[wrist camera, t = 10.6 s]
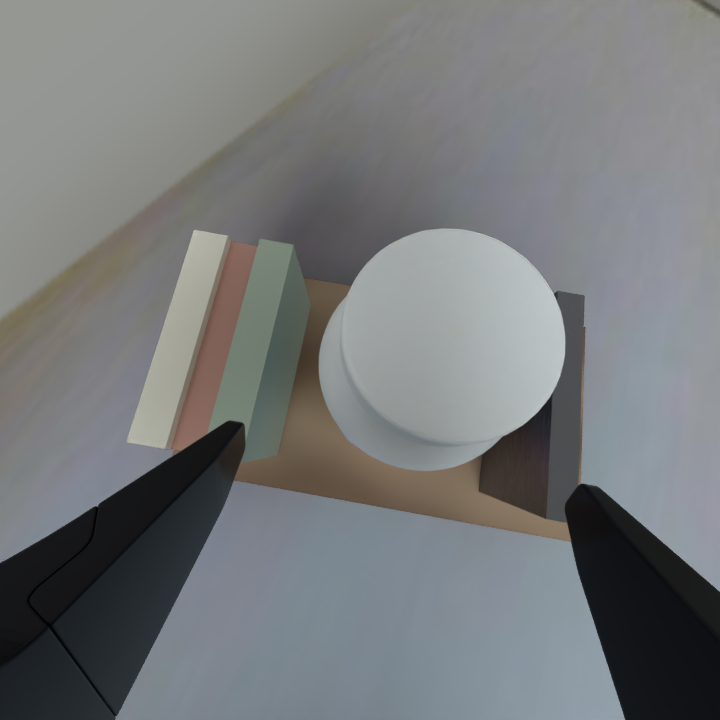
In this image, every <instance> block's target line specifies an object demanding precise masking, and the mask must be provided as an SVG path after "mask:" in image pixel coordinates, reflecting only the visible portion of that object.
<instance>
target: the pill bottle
mask: <svg viewBox="0 0 720 720" xmlns="http://www.w3.org/2000/svg"><path fill="white" fill-rule="evenodd" d="M564 357H565V331H564V324H563V318H562V315H561V311H560V308H559V305H558V303H557V300H556V298H555V296H554V294H553V292H552V290H551V289H550V287H549V285H548V284H547V282H546V280H545V279H544V278H543V276H542V275H541V274H540V273H539V271H538V270H537V269H536V268H535V267H534V266H533V265H532V264H531V263H530V262H529V261H528V260H527V259H526V258H525V257H523V256H522V255H521V254H519V253H518V252H517V251H515V250H514V249H513V248H511V247H509V246H508V245H506V244H505V243H503V242H501V241H499V240H497V239H495V238H492V237H490V236H487V235H484V234H481V233H477V232H473V231H468V230H463V229H448V228H441V229H432V230H424V231H420V232H417V233H414V234H411V235H408V236H405V237H403V238H401V239H399V240H397V241H395V242H393V243H391V244H389V245H388V246H386V247H385V248H383V249H382V250H381V251H379V252H378V253H377V254H376V255H375V256H374V257H373V258H372V259H371V260H370V261H369V262H368V263H367V264H366V265H365V266H364V267H363V269H362V270H361V271H360V272H359V274H358V276H357V277H356V279H355V280H354V282H353V284H352V286H351V288H350V290H349V292H348V294H347V296H346V297H345V298H344V299H343V301H342V302H341V303H340V304H339V305H338V307H337V308H336V310H335V311H334V313H333V314H332V316H331V318H330V320H329V322H328V325H327V327H326V330H325V332H324V335H323V338H322V342H321V346H320V352H319V379H320V385H321V390H322V394H323V397H324V400H325V403H326V405H327V408H328V410H329V412H330V414H331V416H332V418H333V419H334V421H335V423H336V424H337V425H338V427H339V428H340V430H341V432H342V433H343V434H344V436H345V437H346V438H347V439H348V440H349V441H350V442H351V443H352V444H353V445H354V446H355V447H357V448H358V449H359V450H361V451H363V452H364V453H366V454H367V455H369V456H371V457H372V458H374V459H376V460H379V461H381V462H383V463H386V464H389V465H392V466H395V467H399V468H403V469H408V470H416V471H435V470H443V469H448V468H452V467H456V466H459V465H462V464H464V463H466V462H469V461H471V460H473V459H475V458H476V457H478V456H480V455H481V454H483V453H484V452H486V451H487V450H488V449H490V448H491V447H492V446H493V445H494V444H496V443H497V442H498V441H499V440H500V439H501V437H502V436H505V435H507V434H509V433H511V432H512V431H514V430H516V429H518V428H519V427H521V426H522V425H524V424H525V423H526V422H528V421H529V420H530V419H531V418H532V417H533V416H534V415H535V414H537V413H538V412H539V410H540V409H541V408H542V407H543V405H544V404H545V403H546V402H547V400H548V399H549V398H550V396H551V394H552V392H553V391H554V389H555V387H556V385H557V382H558V380H559V378H560V375H561V371H562V367H563V363H564Z"/></svg>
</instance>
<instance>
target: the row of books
mask: <svg viewBox="0 0 720 720" xmlns="http://www.w3.org/2000/svg"><path fill="white" fill-rule="evenodd" d="M310 307H311V303H310V300H309V296H308V293H307V289H306V286H305V282H304V279H303V275H302V272H301V268H300V265H299V261H298V258H297V254H296V251H295V247H294V245H293V244H287V243H282V242H276V241H270V240H265V239H260V240H259V243H258V246H254V245H248V244H242V243H237V242H231V241H230V239H229V237H228V236H226V235H221V234H215V233H209V232H204V231H198V230H194V232H193V235H192V238H191V241H190V245H189V248H188V251H187V254H186V257H185V260H184V263H183V266H182V270H181V273H180V276H179V279H178V282H177V285H176V288H175V291H174V295H173V298H172V301H171V304H170V307H169V310H168V313H167V316H166V320H165V323H164V326H163V329H162V332H161V335H160V338H159V341H158V345H157V348H156V351H155V354H154V357H153V360H152V363H151V366H150V370H149V373H148V376H147V379H146V382H145V385H144V388H143V391H142V395H141V398H140V401H139V404H138V407H137V410H136V413H135V416H134V420H133V423H132V426H131V429H130V432H129V435H128V438H127V441H126V442H129V443H135V444H140V445H146V446H151V447H157V448H162V449H176V450H183V449H184V448H186V447H188V446H189V445H191V444H192V443H194V442H195V441H197V440H198V439H200V438H201V437H203V436H205V435H206V434H208V433H209V432H211V431H212V430H214V429H215V428H217V427H218V426H220V425H222V424H223V423H225V422H226V421H229V420H233V421H238V422H242V423H244V425H245V441H246V446H245V451H244V454H243V457H242V460H241V462H240V463H245V462H249V461H254V460H258V459H263V458H267V457H271V456H276V455H278V451H279V447H280V442H281V438H282V433H283V429H284V424H285V420H286V415H287V411H288V406H289V402H290V397H291V393H292V388H293V384H294V379H295V375H296V370H297V366H298V361H299V357H300V352H301V348H302V343H303V339H304V334H305V330H306V325H307V321H308V316H309V312H310Z"/></svg>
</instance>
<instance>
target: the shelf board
mask: <svg viewBox="0 0 720 720" xmlns="http://www.w3.org/2000/svg"><path fill="white" fill-rule="evenodd" d="M303 279H304V282H305V286H306V289H307V293H308V296H309V300H310V303H311V307H310V312H309V316H308V321H307V325H306V330H305V334H304V339H303V343H302V348H301V352H300V357H299V361H298V366H297V370H296V375H295V379H294V384H293V388H292V393H291V397H290V402H289V406H288V411H287V415H286V420H285V424H284V429H283V433H282V438H281V442H280V447H279V451H278V455H276V456H271V457H267V458H263V459H258V460H254V461H249V462H245V463H240V465H239V468H238V470H237V473H236V475H235V478H234V480H236V481H242V482H247V483H252V484H258V485H263V486H269V487H274V488H280V489H285V490H291V491H296V492H302V493H307V494H313V495H318V496H324V497H329V498H335V499H340V500H345V501H351V502H356V503H362V504H367V505H373V506H378V507H384V508H389V509H395V510H400V511H406V512H411V513H417V514H422V515H428V516H433V517H439V518H444V519H449V520H455V521H460V522H466V523H471V524H477V525H482V526H488V527H493V528H499V529H504V530H510V531H515V532H521V533H526V534H532V535H537V536H543V537H548V538H553V539H559V540H564V541H570V542H571V539H570V534H569V529H568V525H567V523H564V522H559V521H553V520H548V519H544V518H542V517H540V516H537V515H535V514H532V513H530V512H527V511H525V510H522V509H520V508H517V507H515V506H513V505H510V504H508V503H505V502H503V501H500V500H498V499H495V498H493V497H491V496H488V495H486V494H483V493H481V492H478V491H479V481H480V470H481V459H482V454H481V455H480V456H478V457H476V458H475V459H473V460H471V461H469V462H466V463H464V464H462V465H459V466H456V467H452V468H448V469H443V470H435V471H416V470H408V469H403V468H399V467H395V466H392V465H389V464H386V463H383V462H381V461H379V460H376V459H374V458H372V457H371V456H369V455H367V454H366V453H364V452H363V451H361V450H359V449H358V448H357V447H355V446H354V445H353V444H352V443H351V442H350V441H349V440H348V439H347V438H346V437H345V436H344V434H343V433H342V432H341V430H340V428H339V427H338V425H337V424H336V423H335V421H334V419H333V418H332V416H331V414H330V412H329V410H328V408H327V405H326V403H325V400H324V397H323V394H322V390H321V385H320V379H319V352H320V346H321V342H322V338H323V335H324V332H325V330H326V327H327V325H328V322H329V320H330V318H331V316H332V314H333V313H334V311H335V310H336V308H337V307H338V305H339V304H340V303H341V302H342V301H343V299H344V298H345V297H346V296H347V294H348V292H349V290H350V288H351V286H349V285H343V284H338V283H332V282H326V281H321V280H315V279H309V278H304V277H303ZM584 354H585V327H583V357H582V389H581V420H580V451H579V483H578V485H580V484H581V452H582V420H583V387H584ZM180 451H181V450H176V449H175V450H174V453H173V456H174V455H175V454H177V453H178V452H180Z"/></svg>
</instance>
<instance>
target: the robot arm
mask: <svg viewBox="0 0 720 720" xmlns="http://www.w3.org/2000/svg"><path fill="white" fill-rule="evenodd" d="M245 446H246V441H245V425H244V423H242V422H238V421H233V420H229V421H226V422H225V423H223V424H222V425H220V426H218V427H217V428H215V429H214V430H212V431H211V432H209V433H208V434H206V435H205V436H203V437H201V438H200V439H198V440H197V441H195V442H194V443H192V444H191V445H189V446H188V447H186V448H184V449H183V450H181V451H180V452H178V453H177V454H175V455H174V456H172V457H171V458H169V459H167V460H166V461H164V462H163V463H161V464H160V465H158V466H157V467H155V468H154V469H152V470H150V471H149V472H147V473H146V474H144V475H143V476H141V477H140V478H138V479H137V480H135V481H133V482H132V483H130V484H129V485H127V486H126V487H124V488H123V489H121V490H120V491H118V492H116V493H115V494H113V495H112V496H110V497H109V498H107V499H106V500H104V501H103V502H101V503H100V504H99V505H98V507H97V506H95V507H93V508H91V509H90V510H88V511H87V512H85V513H84V514H82V515H81V516H79V517H78V518H76V519H74V520H73V521H71V522H70V523H68V524H66V525H65V526H63V527H62V528H60V529H58V530H57V531H55V532H53V533H52V534H50V535H49V536H47V537H45V538H43V539H42V540H40V541H38V542H37V543H35V544H33V545H31V546H30V547H28V548H26V549H24V550H23V551H21V552H19V553H17V554H16V555H14V556H12V557H10V558H9V559H7V560H5V561H3V562H1V563H0V720H115V719H116V718H115V716H117V715H118V713H119V711H120V709H121V707H122V705H123V703H124V701H125V699H126V697H127V695H128V693H129V691H130V689H131V688H132V686H133V684H134V682H135V680H136V678H137V676H138V674H139V672H140V670H141V668H142V666H143V664H144V662H145V660H146V658H147V656H148V654H149V652H150V650H151V648H152V646H153V644H154V642H155V640H156V638H157V637H158V635H159V633H160V631H161V629H162V627H163V625H164V623H165V621H166V619H167V617H168V615H169V613H170V611H171V609H172V607H173V605H174V603H175V601H176V599H177V597H178V595H179V593H180V591H181V589H182V587H183V586H184V584H185V582H186V580H187V578H188V576H189V574H190V572H191V570H192V568H193V566H194V564H195V562H196V560H197V558H198V556H199V554H200V552H201V550H202V548H203V546H204V544H205V542H206V540H207V538H208V536H209V535H210V533H211V531H212V529H213V527H214V525H215V523H216V521H217V519H218V517H219V515H220V513H221V511H222V509H223V507H224V504H225V502H226V499H227V497H228V494H229V491H230V489H231V486H232V483H233V481H234V478H235V475H236V473H237V470H238V468H239V465H240V462H241V460H242V457H243V454H244V451H245ZM565 515H566V520H567V525H568V529H569V534H570V539H571V543H572V548H573V552H574V557H575V562H576V566H577V570H578V573H579V576H580V580H581V583H582V586H583V589H584V592H585V596H586V599H587V602H588V605H589V608H590V611H591V614H592V617H593V620H594V624H595V627H596V630H597V633H598V636H599V639H600V642H601V645H602V649H603V652H604V655H605V658H606V661H607V664H608V667H609V670H610V673H611V677H612V680H613V683H614V686H615V689H616V692H617V695H618V698H619V701H620V705H621V708H622V711H623V714H624V717H625V720H720V592H719V591H718V590H717V589H716V588H715V587H713V586H712V585H711V584H710V583H709V582H708V581H707V580H705V579H704V578H703V577H702V576H701V575H700V574H698V573H697V572H696V571H695V570H694V569H693V568H692V567H690V566H689V565H688V564H687V563H686V562H685V561H683V560H682V559H681V558H680V557H679V556H678V555H677V554H675V553H674V552H673V551H672V550H671V549H670V548H668V547H667V546H666V545H665V544H664V543H663V542H661V541H660V540H659V539H658V538H657V537H656V536H655V535H653V534H652V533H651V532H650V531H649V530H648V529H646V528H645V527H644V526H643V525H642V524H641V523H640V522H638V521H637V520H636V519H635V518H634V517H633V516H631V515H630V514H629V513H628V512H627V511H626V510H625V509H623V508H622V507H621V506H620V505H619V504H618V503H616V502H615V501H614V500H613V499H612V498H611V497H609V496H608V495H607V494H606V493H605V492H604V491H603V490H601V489H600V488H599V487H597V486H593V485H588V484H580V485H578V486H577V487H576V489H575V490H574V491H573V493H572V494H571V496H570V497H569V498H568V500H567V501H566V503H565Z"/></svg>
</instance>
